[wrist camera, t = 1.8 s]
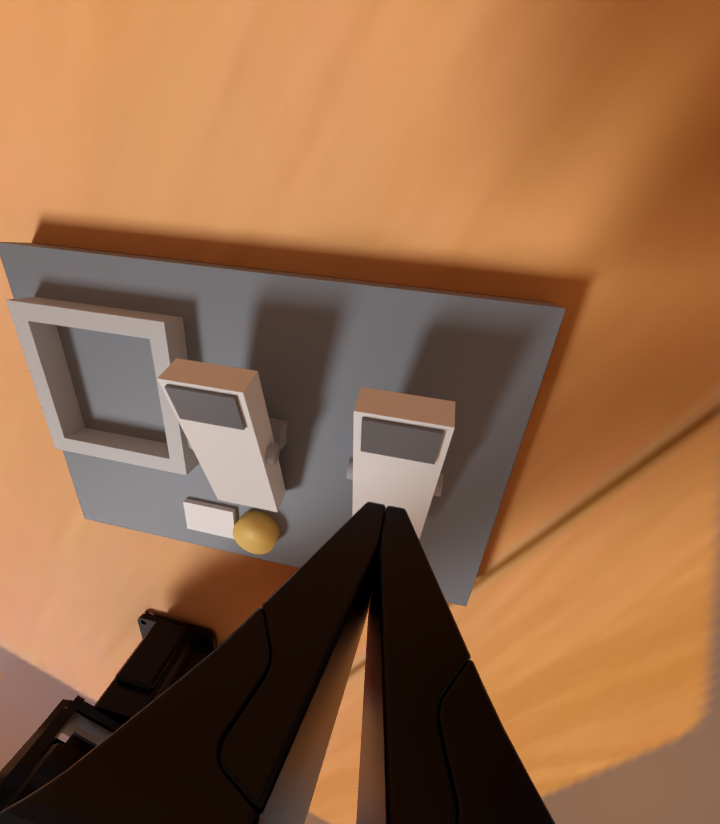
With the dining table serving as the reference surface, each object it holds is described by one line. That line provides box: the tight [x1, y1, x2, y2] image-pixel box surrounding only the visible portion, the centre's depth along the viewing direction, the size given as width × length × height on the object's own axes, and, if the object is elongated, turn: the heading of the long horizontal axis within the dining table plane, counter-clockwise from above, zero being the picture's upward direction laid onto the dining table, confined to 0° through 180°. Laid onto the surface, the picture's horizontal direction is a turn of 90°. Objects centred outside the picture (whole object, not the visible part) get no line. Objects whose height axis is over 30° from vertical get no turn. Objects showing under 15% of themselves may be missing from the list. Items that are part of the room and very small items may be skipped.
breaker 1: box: [157, 358, 286, 512], centre depth 15 cm, size 8×4×1 cm, turn 174°
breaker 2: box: [346, 387, 455, 539], centre depth 14 cm, size 8×4×1 cm, turn 174°
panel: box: [0, 242, 566, 606], centre depth 18 cm, size 16×24×3 cm, turn 85°
